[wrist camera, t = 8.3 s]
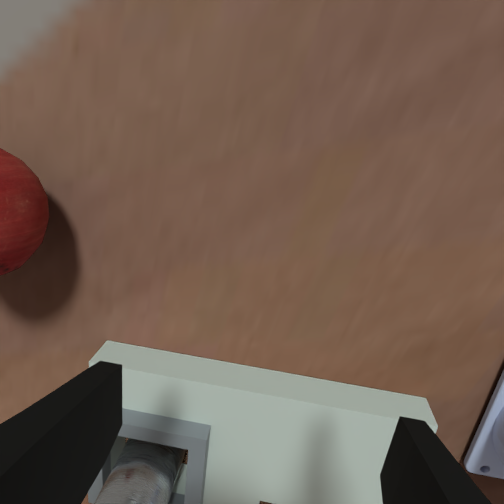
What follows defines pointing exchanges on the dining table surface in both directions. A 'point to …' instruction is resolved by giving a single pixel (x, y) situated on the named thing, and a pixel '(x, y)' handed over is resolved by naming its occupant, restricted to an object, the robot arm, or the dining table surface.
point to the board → (256, 429)
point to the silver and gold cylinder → (142, 474)
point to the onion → (20, 212)
